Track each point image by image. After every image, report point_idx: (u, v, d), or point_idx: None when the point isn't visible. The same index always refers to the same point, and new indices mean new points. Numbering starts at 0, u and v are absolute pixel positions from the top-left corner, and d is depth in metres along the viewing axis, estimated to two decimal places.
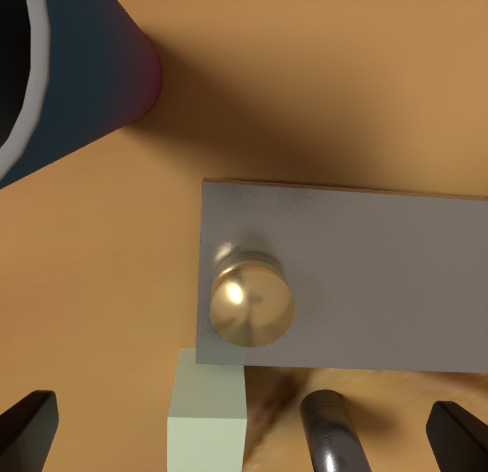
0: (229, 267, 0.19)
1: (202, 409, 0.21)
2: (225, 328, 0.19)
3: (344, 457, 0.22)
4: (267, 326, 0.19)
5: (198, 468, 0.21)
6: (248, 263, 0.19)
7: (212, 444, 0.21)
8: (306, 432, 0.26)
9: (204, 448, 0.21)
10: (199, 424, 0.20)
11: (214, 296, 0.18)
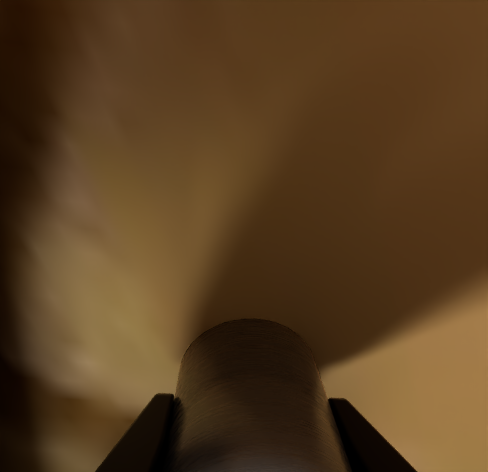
0: None
1: None
2: None
3: None
4: None
5: None
6: None
7: None
8: None
9: None
10: None
11: None
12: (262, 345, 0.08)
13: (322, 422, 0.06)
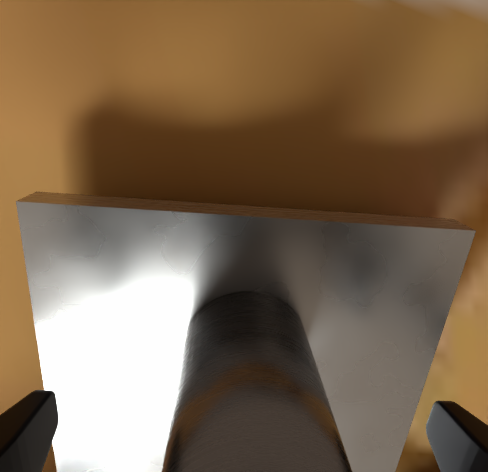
0: None
1: None
2: None
3: None
4: None
5: None
6: None
7: None
8: None
9: None
10: None
11: None
12: (257, 311, 0.09)
13: (306, 370, 0.08)
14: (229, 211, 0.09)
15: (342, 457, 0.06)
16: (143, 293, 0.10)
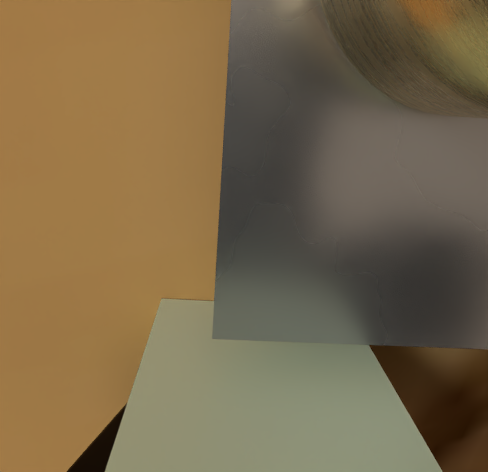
0: None
1: None
2: None
3: None
4: None
5: None
6: None
7: None
8: None
9: None
10: None
11: None
12: None
13: None
14: None
15: None
16: None
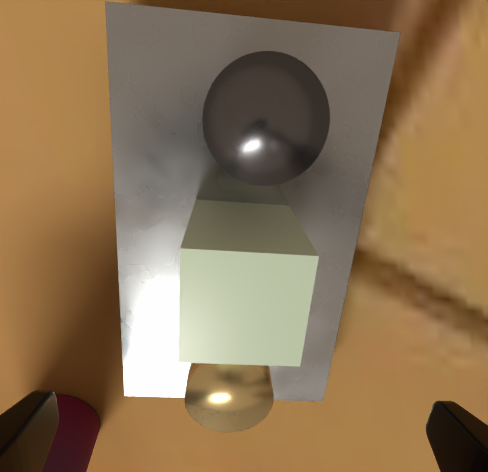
0: None
1: (240, 244, 0.12)
2: (248, 420, 0.18)
3: None
4: (247, 386, 0.17)
5: (230, 354, 0.13)
6: None
7: (256, 307, 0.12)
8: None
9: (241, 315, 0.12)
10: (236, 264, 0.12)
11: (211, 428, 0.18)
12: None
13: None
14: None
15: None
16: (182, 76, 0.15)
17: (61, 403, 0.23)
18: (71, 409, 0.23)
